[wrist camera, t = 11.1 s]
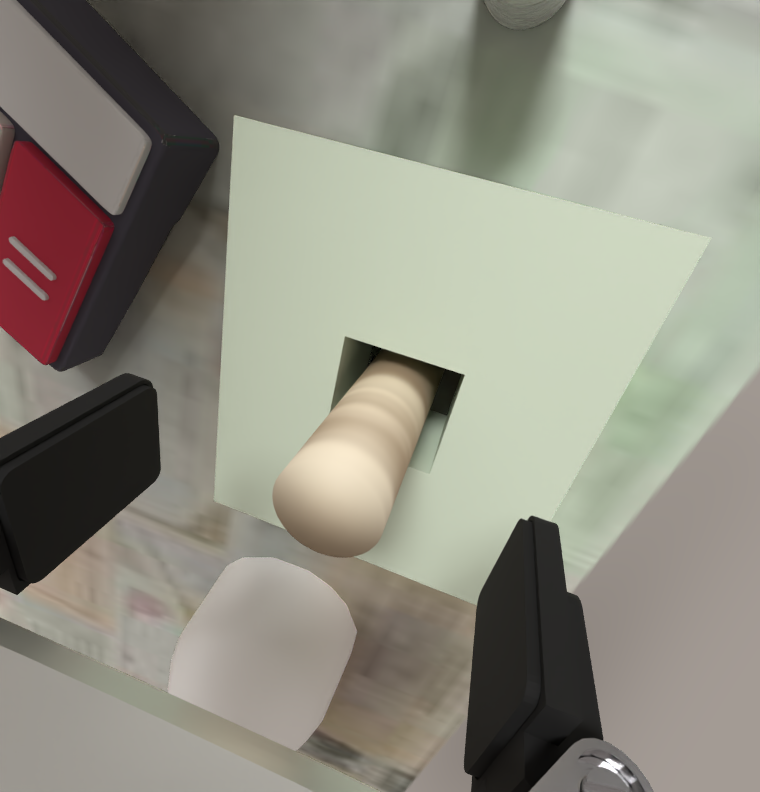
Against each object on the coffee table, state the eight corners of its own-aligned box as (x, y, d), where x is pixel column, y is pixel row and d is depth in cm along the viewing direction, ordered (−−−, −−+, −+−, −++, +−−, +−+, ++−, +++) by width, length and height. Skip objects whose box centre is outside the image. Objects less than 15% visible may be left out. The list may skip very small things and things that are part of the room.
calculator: (-127, 226, 22) (-107, -128, 14) (-32, 217, 25) (25, -67, 18) (46, 381, 23) (153, 139, 15) (113, 352, 27) (227, 144, 19)
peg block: (303, 132, 18) (234, 114, 13) (657, 224, 16) (711, 238, 11) (265, 447, 25) (213, 500, 21) (501, 534, 23) (497, 614, 19)
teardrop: (232, 646, 35) (113, 838, 25) (204, 542, 31) (44, 724, 20) (361, 680, 32) (289, 913, 22) (352, 571, 28) (255, 801, 17)
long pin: (391, 321, 20) (279, 443, 10) (454, 341, 20) (397, 487, 10) (377, 378, 21) (267, 532, 12) (435, 397, 21) (370, 573, 11)
